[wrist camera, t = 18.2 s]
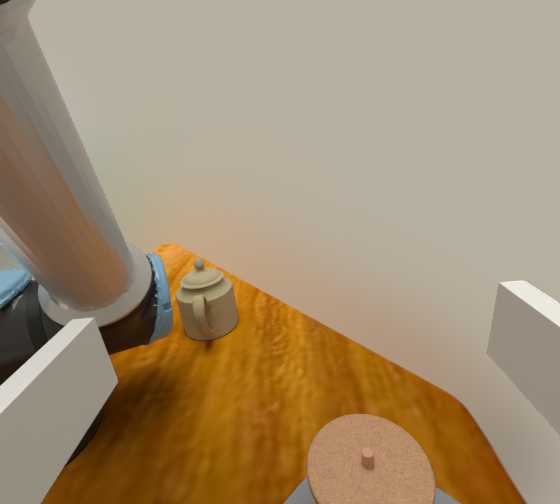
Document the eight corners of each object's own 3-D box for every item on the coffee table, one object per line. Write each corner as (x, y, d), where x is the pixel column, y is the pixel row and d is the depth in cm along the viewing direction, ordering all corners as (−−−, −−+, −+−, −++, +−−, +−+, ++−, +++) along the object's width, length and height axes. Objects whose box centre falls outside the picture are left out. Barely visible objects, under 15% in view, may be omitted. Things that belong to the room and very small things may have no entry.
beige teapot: (258, 333, 61) (247, 262, 55) (204, 360, 55) (186, 284, 50) (224, 304, 73) (212, 243, 67) (177, 323, 67) (160, 258, 62)
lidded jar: (417, 631, 24) (426, 559, 20) (292, 547, 29) (282, 480, 26) (436, 493, 32) (444, 426, 29) (336, 448, 37) (332, 387, 34)
